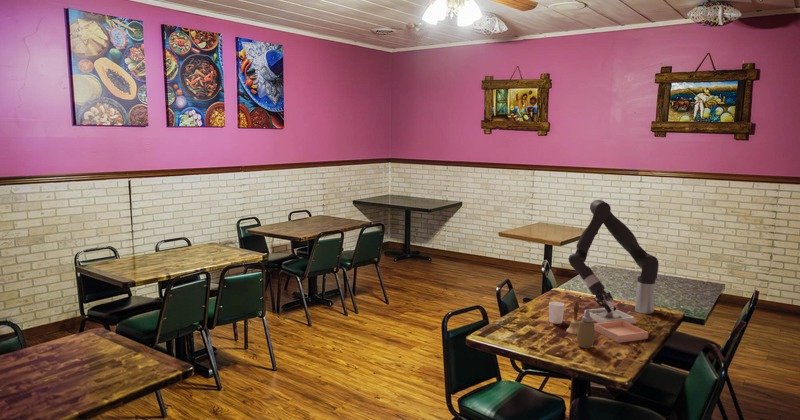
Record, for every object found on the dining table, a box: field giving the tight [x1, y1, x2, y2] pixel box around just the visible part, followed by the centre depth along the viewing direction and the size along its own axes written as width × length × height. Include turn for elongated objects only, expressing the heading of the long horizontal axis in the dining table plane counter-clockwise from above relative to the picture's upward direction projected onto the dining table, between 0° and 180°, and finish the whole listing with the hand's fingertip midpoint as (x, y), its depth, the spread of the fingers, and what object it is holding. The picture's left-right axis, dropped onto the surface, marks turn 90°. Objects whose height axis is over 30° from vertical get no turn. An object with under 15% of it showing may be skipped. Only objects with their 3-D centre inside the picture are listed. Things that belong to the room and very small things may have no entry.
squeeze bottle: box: [576, 309, 596, 349], centre depth 265 cm, size 8×8×18 cm
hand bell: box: [566, 300, 580, 335], centre depth 285 cm, size 8×8×16 cm
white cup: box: [548, 300, 565, 325], centre depth 300 cm, size 8×8×10 cm
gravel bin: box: [583, 307, 635, 325], centre depth 305 cm, size 18×18×4 cm
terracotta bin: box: [594, 320, 649, 344], centre depth 283 cm, size 18×18×4 cm
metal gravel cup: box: [605, 299, 615, 318], centre depth 305 cm, size 4×4×9 cm
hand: (612, 311), depth 303 cm, fingers closed on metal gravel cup, 4 cm apart
